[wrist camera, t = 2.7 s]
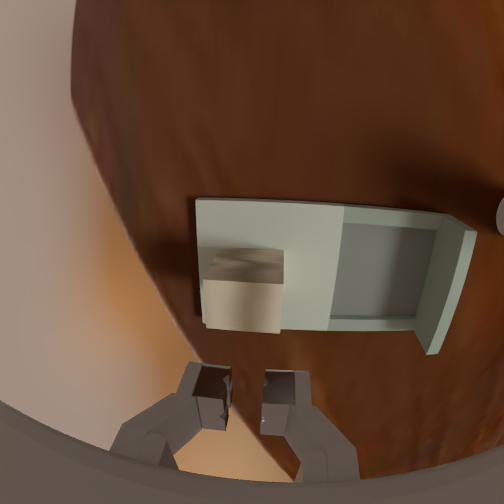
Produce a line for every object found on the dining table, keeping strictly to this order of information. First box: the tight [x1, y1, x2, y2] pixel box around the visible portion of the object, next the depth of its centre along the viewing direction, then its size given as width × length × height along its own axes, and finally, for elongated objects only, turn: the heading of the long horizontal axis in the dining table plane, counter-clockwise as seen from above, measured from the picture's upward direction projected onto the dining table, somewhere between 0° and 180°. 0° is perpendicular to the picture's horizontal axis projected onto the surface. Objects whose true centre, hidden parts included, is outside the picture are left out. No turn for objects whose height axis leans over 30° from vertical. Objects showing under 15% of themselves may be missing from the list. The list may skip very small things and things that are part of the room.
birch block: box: [203, 247, 284, 333], centre depth 35 cm, size 8×6×9 cm
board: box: [195, 198, 477, 355], centre depth 36 cm, size 34×18×8 cm, turn 90°
